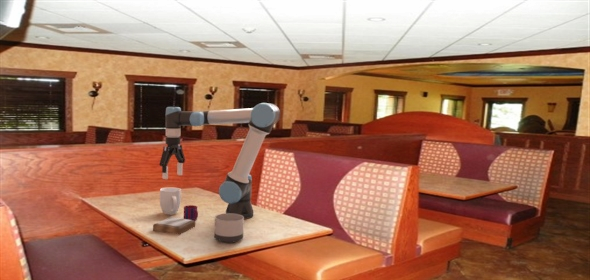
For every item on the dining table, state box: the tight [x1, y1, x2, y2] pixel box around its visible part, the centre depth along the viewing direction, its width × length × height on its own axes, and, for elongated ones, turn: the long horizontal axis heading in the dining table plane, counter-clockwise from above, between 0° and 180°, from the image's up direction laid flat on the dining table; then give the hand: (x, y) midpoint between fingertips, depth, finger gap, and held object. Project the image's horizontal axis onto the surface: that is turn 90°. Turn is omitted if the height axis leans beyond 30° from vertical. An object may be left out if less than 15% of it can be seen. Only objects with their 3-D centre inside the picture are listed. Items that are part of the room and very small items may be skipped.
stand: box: [152, 216, 196, 236], centre depth 202 cm, size 14×14×4 cm
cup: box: [183, 204, 199, 222], centre depth 218 cm, size 7×10×7 cm
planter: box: [213, 212, 245, 244], centre depth 190 cm, size 13×13×10 cm
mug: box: [159, 186, 182, 216], centre depth 227 cm, size 15×11×13 cm
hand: (172, 177), depth 223 cm, fingers open, 13 cm apart
